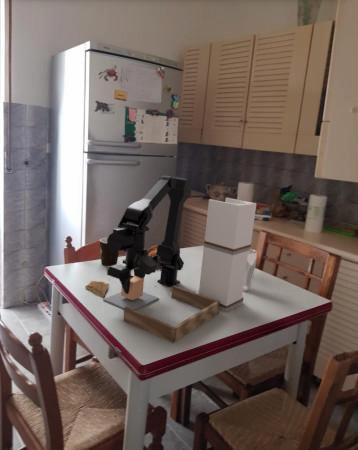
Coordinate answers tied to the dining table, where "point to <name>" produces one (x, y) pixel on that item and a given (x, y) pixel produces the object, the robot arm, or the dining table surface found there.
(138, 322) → the walnut u-shaped frame
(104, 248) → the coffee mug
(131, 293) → the terracotta block
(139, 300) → the slate mat
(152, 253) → the pastry
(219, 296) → the banded white pillar
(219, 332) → the dining table surface
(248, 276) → the beer glass
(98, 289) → the shard
